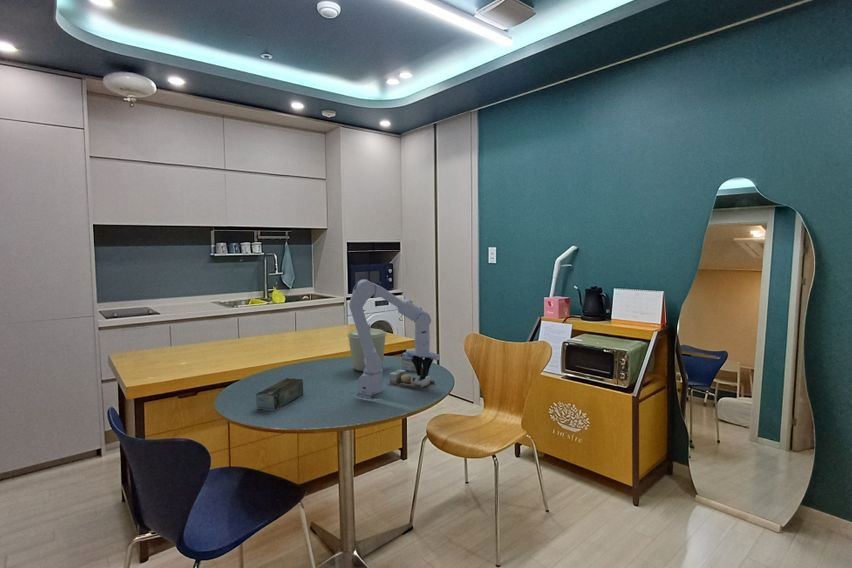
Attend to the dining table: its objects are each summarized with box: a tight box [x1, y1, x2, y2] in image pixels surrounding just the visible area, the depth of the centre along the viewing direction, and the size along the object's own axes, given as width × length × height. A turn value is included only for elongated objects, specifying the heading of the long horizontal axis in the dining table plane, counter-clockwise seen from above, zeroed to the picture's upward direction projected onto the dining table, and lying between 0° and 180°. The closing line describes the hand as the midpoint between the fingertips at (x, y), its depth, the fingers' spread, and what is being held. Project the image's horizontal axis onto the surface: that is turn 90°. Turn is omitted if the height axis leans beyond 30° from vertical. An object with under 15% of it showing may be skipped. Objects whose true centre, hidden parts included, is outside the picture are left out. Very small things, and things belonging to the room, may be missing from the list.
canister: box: [346, 323, 388, 372], centre depth 209 cm, size 18×18×21 cm
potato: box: [401, 373, 412, 384], centre depth 182 cm, size 4×4×3 cm
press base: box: [385, 368, 436, 392], centre depth 181 cm, size 10×18×6 cm, turn 58°
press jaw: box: [415, 366, 432, 388], centre depth 178 cm, size 7×3×7 cm, turn 148°
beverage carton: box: [255, 377, 304, 412], centre depth 166 cm, size 8×19×7 cm, turn 164°
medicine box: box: [401, 351, 417, 373], centre depth 202 cm, size 8×4×9 cm, turn 62°
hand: (422, 375), depth 178 cm, fingers closed on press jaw, 2 cm apart
